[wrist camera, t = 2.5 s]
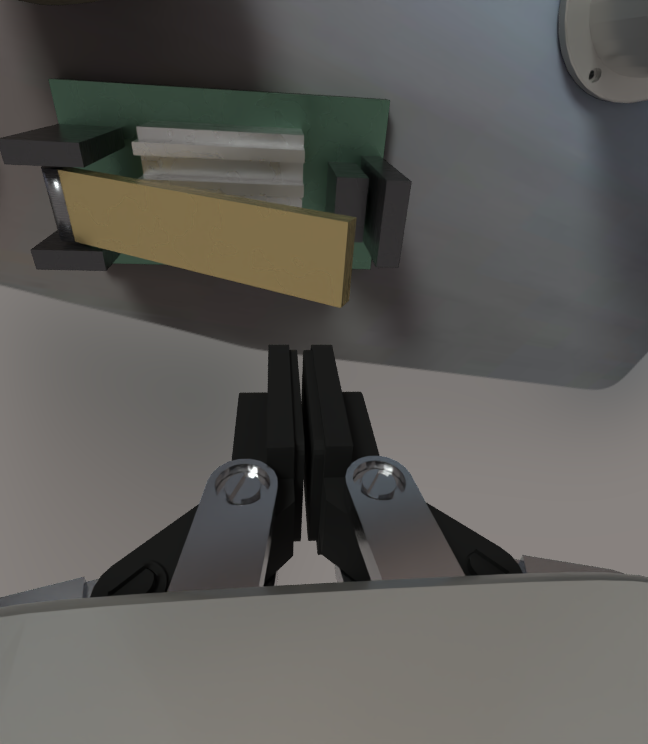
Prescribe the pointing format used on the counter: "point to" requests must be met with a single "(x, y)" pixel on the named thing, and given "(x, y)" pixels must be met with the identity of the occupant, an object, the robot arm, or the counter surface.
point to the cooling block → (225, 155)
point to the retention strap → (207, 232)
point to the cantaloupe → (58, 2)
